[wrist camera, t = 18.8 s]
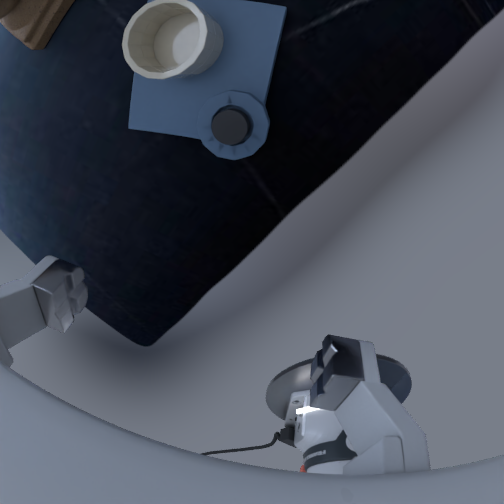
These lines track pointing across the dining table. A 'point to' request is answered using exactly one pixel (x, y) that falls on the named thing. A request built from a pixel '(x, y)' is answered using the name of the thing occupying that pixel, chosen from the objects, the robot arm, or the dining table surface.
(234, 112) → the button
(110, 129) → the dining table surface
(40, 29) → the candle holder
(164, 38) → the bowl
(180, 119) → the scale
